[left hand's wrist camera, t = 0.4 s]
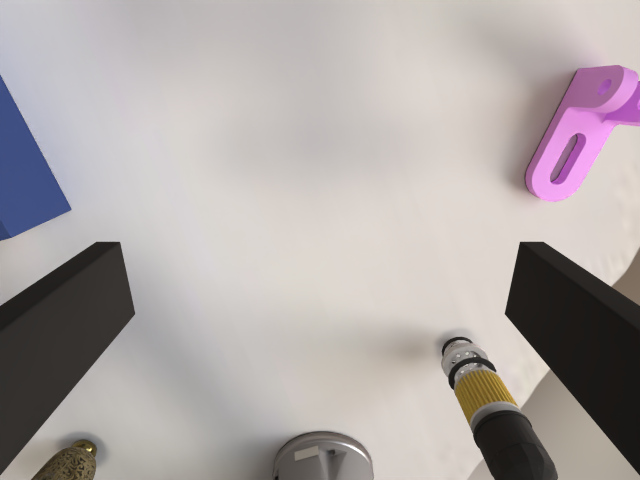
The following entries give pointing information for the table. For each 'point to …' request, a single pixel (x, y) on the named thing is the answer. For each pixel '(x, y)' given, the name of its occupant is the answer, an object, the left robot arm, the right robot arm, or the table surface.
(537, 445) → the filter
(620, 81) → the bracket
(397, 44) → the table surface
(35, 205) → the bar
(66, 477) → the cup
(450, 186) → the table surface
